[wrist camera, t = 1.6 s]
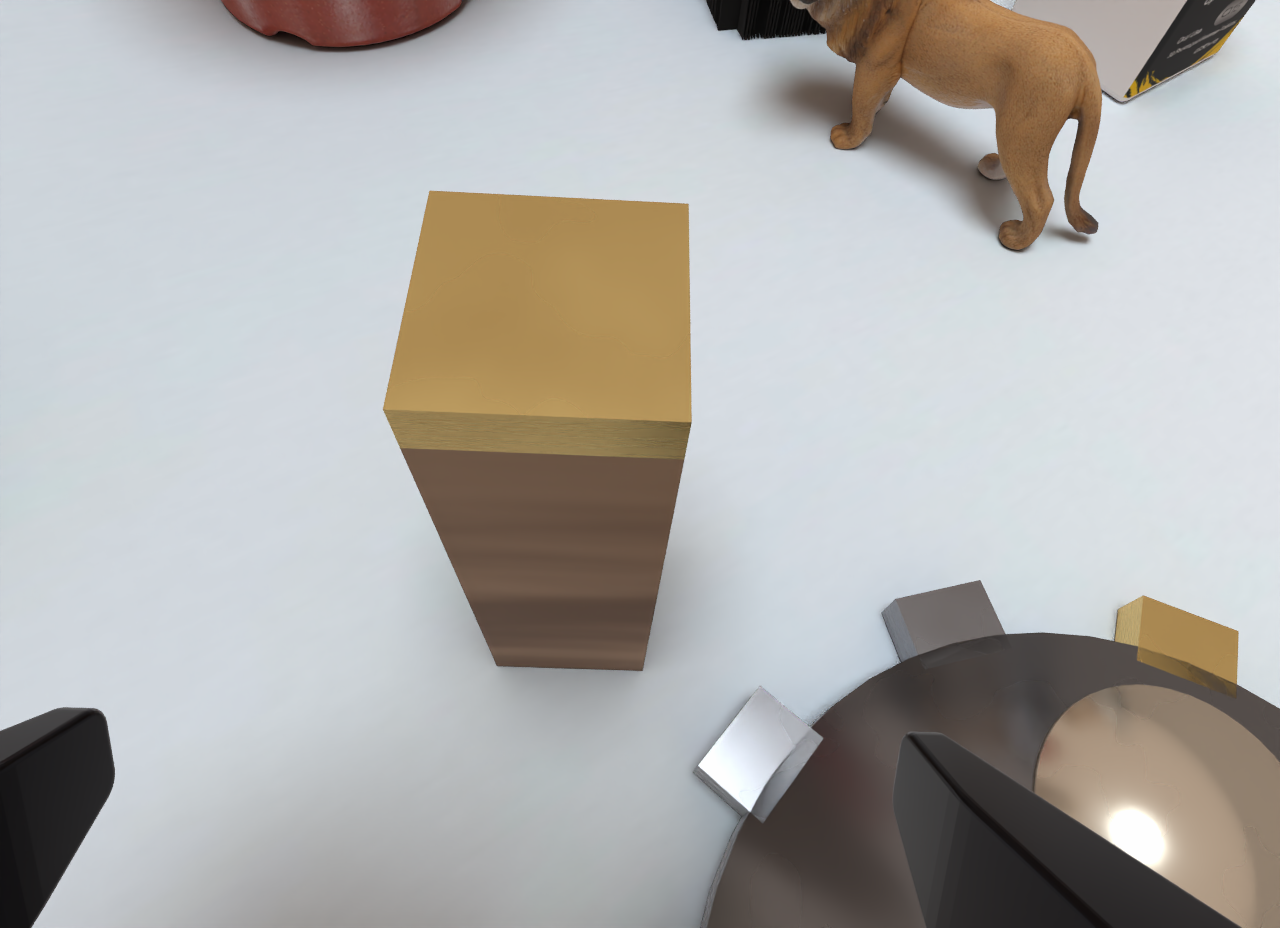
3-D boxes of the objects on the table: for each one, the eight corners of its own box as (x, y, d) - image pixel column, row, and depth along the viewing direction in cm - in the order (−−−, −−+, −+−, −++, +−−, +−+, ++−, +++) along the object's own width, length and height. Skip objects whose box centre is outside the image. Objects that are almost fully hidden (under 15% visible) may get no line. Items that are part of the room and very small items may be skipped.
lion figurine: (733, 123, 33) (776, -119, 25) (794, 61, 35) (850, -179, 27) (1067, 281, 29) (1238, 58, 22) (1110, 201, 32) (1279, -28, 24)
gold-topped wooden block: (642, 670, 22) (691, 422, 10) (497, 666, 21) (383, 409, 10) (644, 537, 24) (688, 203, 12) (511, 532, 23) (429, 190, 12)
